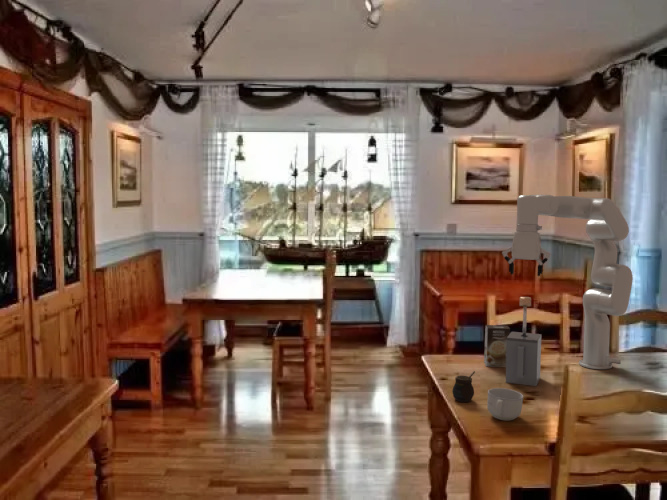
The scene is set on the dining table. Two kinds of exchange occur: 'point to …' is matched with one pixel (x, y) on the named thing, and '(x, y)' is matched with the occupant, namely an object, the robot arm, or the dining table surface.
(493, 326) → the coffee box
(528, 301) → the plunger
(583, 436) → the dining table surface
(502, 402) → the teacup
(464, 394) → the mate gourd
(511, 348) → the press
